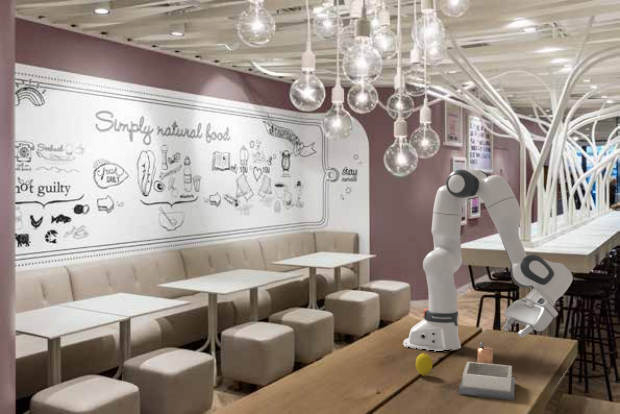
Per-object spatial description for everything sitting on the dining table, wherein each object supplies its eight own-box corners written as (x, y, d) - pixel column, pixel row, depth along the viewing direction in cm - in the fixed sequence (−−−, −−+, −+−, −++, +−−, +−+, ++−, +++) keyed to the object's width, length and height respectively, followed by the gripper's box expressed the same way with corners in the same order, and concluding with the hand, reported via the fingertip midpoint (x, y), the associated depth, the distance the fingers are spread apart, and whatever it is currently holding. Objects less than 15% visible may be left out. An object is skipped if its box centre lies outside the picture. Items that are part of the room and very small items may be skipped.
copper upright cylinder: (487, 368, 214) (488, 340, 213) (495, 373, 209) (495, 344, 209) (474, 369, 213) (474, 341, 212) (481, 374, 208) (482, 345, 207)
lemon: (433, 374, 208) (433, 351, 207) (430, 379, 202) (431, 355, 202) (416, 372, 209) (417, 349, 209) (414, 377, 204) (414, 354, 204)
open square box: (459, 394, 188) (459, 374, 188) (464, 378, 203) (464, 360, 203) (513, 400, 183) (514, 380, 183) (514, 383, 198) (515, 365, 198)
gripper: (515, 292, 224) (491, 320, 222) (549, 302, 204) (523, 333, 202) (526, 303, 225) (502, 331, 223) (561, 315, 205) (535, 346, 204)
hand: (512, 332), depth 213 cm, fingers open, 8 cm apart
